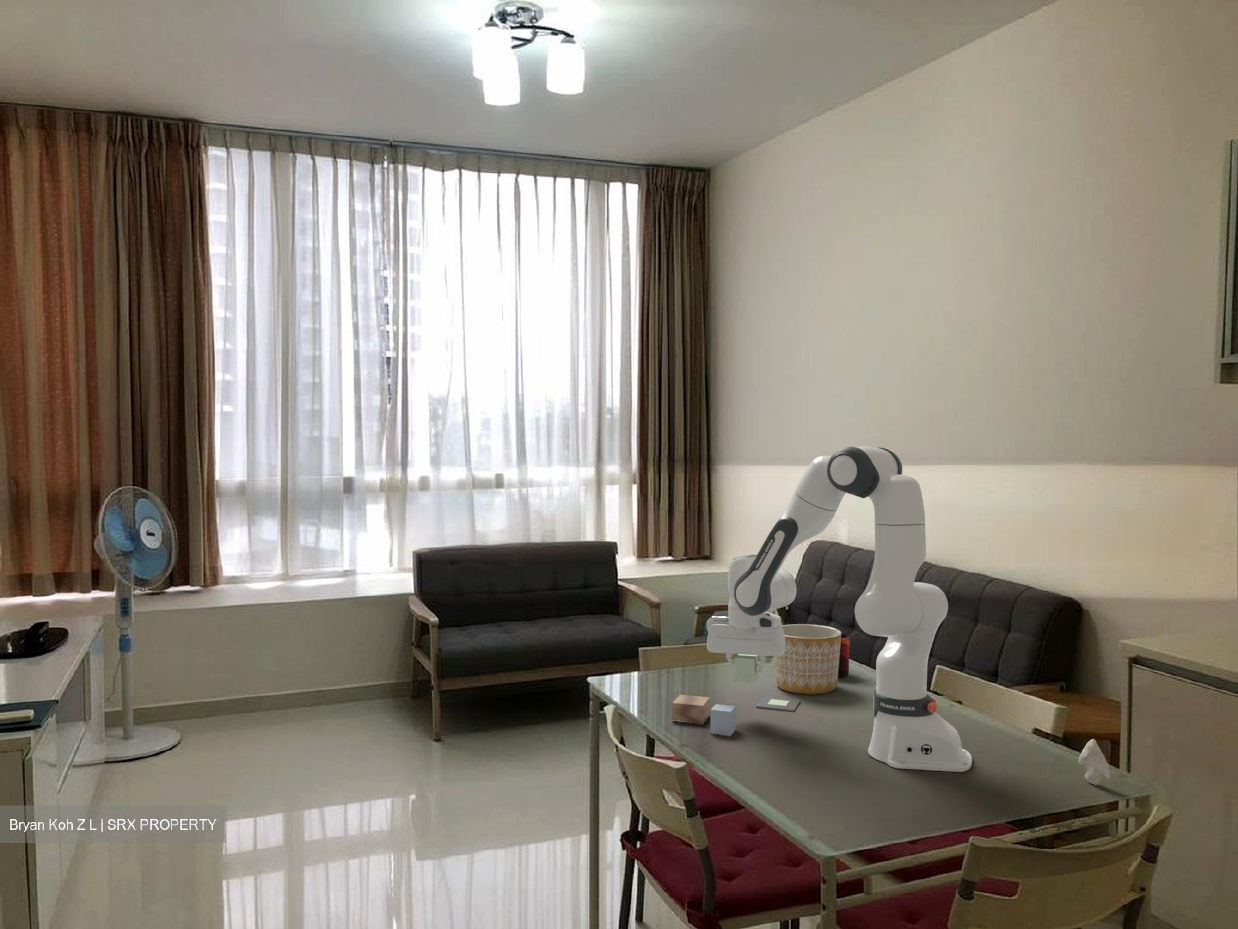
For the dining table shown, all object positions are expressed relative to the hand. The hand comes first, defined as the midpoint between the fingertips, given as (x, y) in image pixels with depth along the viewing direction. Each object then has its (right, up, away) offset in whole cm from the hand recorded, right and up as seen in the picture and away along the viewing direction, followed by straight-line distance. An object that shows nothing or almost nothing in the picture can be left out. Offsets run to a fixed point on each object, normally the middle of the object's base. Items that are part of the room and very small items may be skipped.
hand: (746, 671), depth 247 cm
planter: (+21, -11, +29) cm, 38 cm away
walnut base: (-14, -12, -1) cm, 19 cm away
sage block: (0, -2, 0) cm, 2 cm away
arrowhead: (+66, -14, -47) cm, 82 cm away
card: (+10, -12, +12) cm, 19 cm away
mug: (+32, -11, +46) cm, 57 cm away
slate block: (-7, -12, -12) cm, 18 cm away
